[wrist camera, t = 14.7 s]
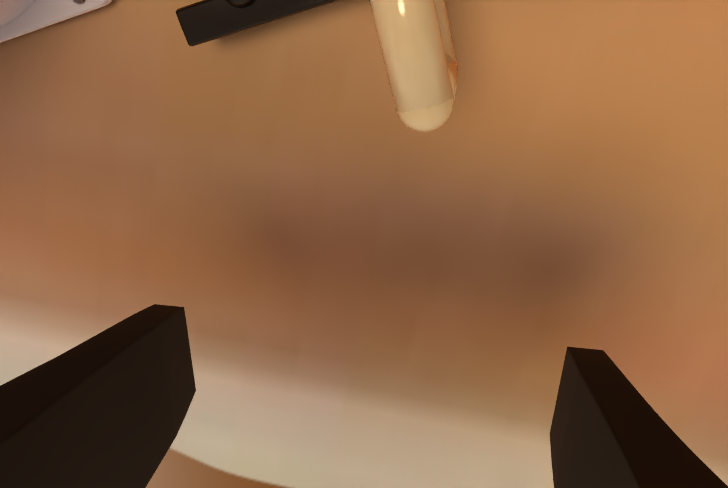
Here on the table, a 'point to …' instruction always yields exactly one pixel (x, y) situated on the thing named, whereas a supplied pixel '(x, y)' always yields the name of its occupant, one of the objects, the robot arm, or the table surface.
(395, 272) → the table surface
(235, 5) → the rack
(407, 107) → the beige mug
